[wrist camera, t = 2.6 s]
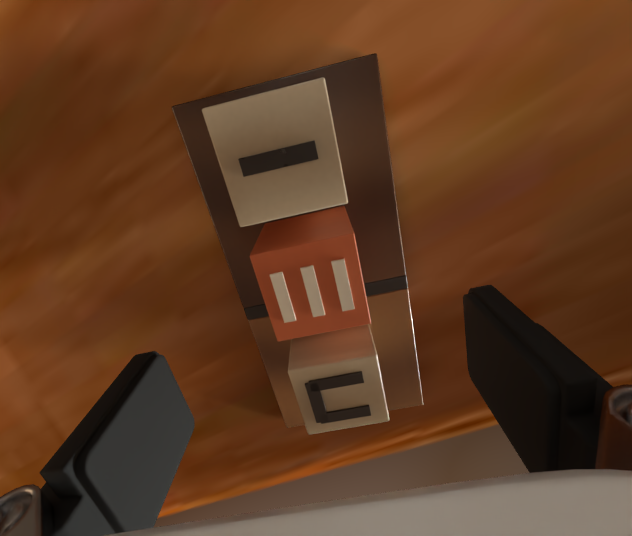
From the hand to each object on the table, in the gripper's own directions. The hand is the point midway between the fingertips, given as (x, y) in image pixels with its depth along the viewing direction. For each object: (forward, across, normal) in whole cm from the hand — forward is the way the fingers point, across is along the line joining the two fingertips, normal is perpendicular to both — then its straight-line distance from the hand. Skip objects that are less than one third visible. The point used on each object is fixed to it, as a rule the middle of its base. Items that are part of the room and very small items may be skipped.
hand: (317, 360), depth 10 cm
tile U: (+8, 0, +5) cm, 9 cm away
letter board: (+8, 0, +1) cm, 8 cm away
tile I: (+8, 0, -6) cm, 10 cm away
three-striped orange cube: (+8, 0, -1) cm, 8 cm away
